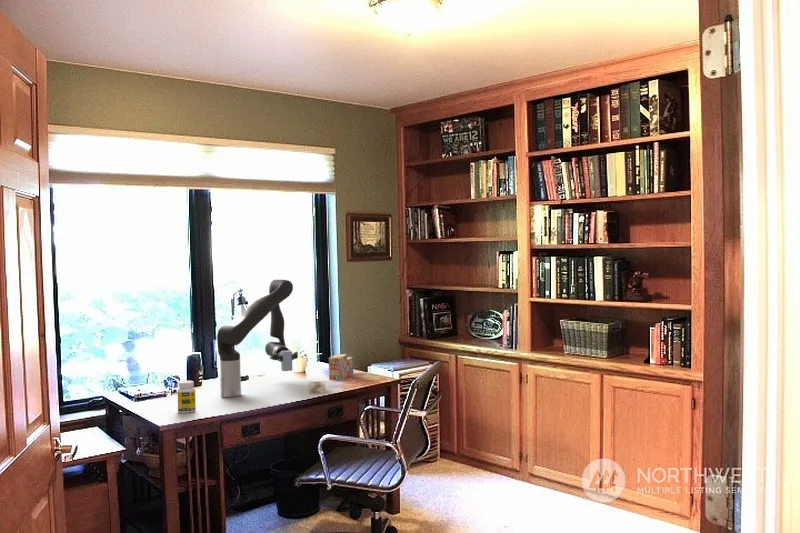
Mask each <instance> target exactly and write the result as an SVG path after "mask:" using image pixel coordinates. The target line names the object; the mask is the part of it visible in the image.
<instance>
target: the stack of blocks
mask: <svg viewBox="0 0 800 533" xmlns="http://www.w3.org/2000/svg"><path fill="white" fill-rule="evenodd" d="M353 359H354V358H353V356H348V354H346V353H342V354H341V353H339V354H338V353H336V354H334V355H332V356H330V357H328V372H329V373H328V375H329V376H328V380H337V381H336V382H341V381H343V380H344V378H345V379H346V378H348V377H349V376H351V375H353V374H354V362H353ZM352 373H353V374H352ZM347 376H348V377H347ZM342 379H343V380H342Z"/></svg>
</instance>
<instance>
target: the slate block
mask: <svg viewBox="0 0 800 533" xmlns="http://www.w3.org/2000/svg"><path fill="white" fill-rule="evenodd" d="M292 354H293V351H292V350H290V349H289V350H287V351H281V355H282V356H283V361H281V362H280V364H281V365H280V366H281V367H280V368H281V371H282V372H290V371H291V372H292V371H293V360H292Z"/></svg>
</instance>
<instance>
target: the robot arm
mask: <svg viewBox="0 0 800 533" xmlns="http://www.w3.org/2000/svg"><path fill="white" fill-rule="evenodd" d="M293 291H294V285H293V283H292V282H291V281H290V280H287V279H273V280H272V281H270V284H269V289H268V292H269V293H268V294H267V295H265V296H262V297H260V298H257V299H256V300H255V301H254V302H253V303H251V304H250V305H249V306H248V307H247V308H246V310H245V312H244V317H243V319H242V320H241V321H240V322H239V323H237V324H236V325H222V326H221V327H220V328H219V329H218V330H217V334H216V338H217V339H216V341H217V354H218V355H219V361H220V362H219V364H220V367H219V368H220V371H219V372H220V375H219V381H220V397H221V398H236V397H239V396H242V382H241V380H242V379H241V375H242V374H241V354H240V352H239V351H237V350H236V349H235V348H234V346H237V345H240V344H241V343H242V342H243V341H244V339H246V337H247V336H248V335H249V333H250V332H251V331H252V330H253V329H254V328H255V327H256V326H257V325H258V324H259V323H260V322H262V320H264V319H265V318H266V317H267V316H268V315H269V313H270V330H269V335H270V337H272V338H275V339H278V341H269V342H267V343H266V345H265V348H264V349H265V350H264V351H265V354H266V355H267V356H268V357H269V359H270V360H272V361H278V362H280V363H281V361H283V356H282V355H281V351H287V350H290V349H289V348H288V347H287V345H286V342H285V318H284V314H283V312H282V310H281V307H280V303H282V302H283V301H284V300H286V299H287V298H289V297H290V296H291V295H292V293H293ZM298 357H299V352H298V351H295V352H293V353H292V361H294V360H297V359H298Z"/></svg>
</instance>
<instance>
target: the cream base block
mask: <svg viewBox="0 0 800 533" xmlns="http://www.w3.org/2000/svg"><path fill="white" fill-rule="evenodd" d="M311 393H319V394H326V381H323V380H322V381H309V383H308V394H309V395H312V394H311Z"/></svg>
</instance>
